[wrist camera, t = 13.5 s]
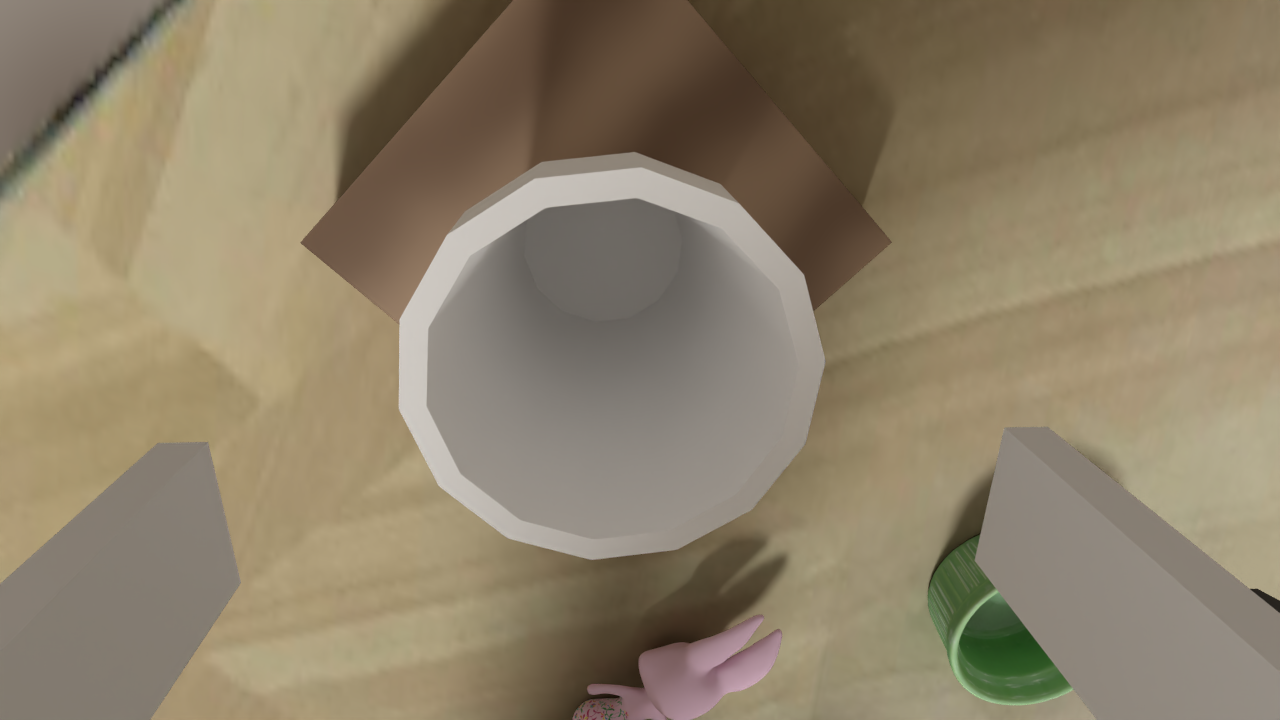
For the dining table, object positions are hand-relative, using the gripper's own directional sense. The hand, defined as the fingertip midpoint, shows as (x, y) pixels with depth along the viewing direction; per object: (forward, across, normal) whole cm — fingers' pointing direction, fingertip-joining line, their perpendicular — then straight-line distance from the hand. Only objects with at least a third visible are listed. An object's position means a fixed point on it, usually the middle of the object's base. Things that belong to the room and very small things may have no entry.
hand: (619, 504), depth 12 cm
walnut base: (+21, 0, 0) cm, 21 cm away
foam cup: (+18, 0, 0) cm, 18 cm away
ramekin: (+22, -22, +20) cm, 37 cm away
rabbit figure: (+22, -3, +25) cm, 33 cm away
